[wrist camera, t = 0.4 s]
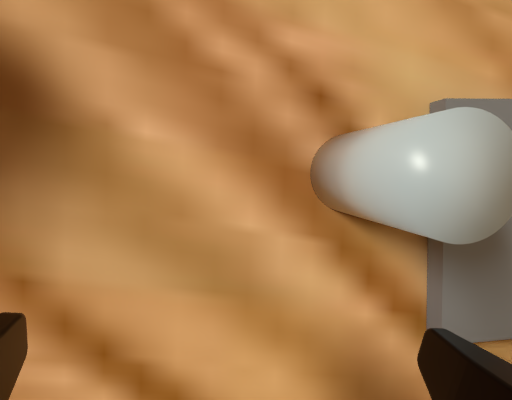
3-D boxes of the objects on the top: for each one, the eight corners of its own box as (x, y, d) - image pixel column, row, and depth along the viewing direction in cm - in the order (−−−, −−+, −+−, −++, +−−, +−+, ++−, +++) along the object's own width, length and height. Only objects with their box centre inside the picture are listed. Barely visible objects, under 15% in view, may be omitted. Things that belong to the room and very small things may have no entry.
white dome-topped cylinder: (384, 210, 23) (523, 241, 14) (310, 213, 23) (399, 247, 13) (385, 133, 23) (527, 107, 13) (310, 134, 22) (400, 106, 13)
